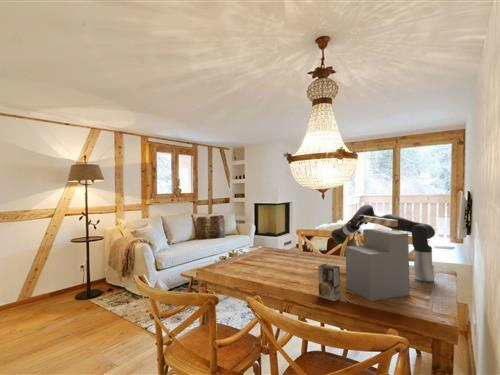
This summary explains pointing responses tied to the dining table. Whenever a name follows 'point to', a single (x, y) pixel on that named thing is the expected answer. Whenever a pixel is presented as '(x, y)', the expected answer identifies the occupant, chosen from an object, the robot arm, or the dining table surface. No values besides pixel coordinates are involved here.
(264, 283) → the dining table surface
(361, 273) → the stepped plinth
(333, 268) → the coffee box
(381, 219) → the birch bar
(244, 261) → the dining table surface
